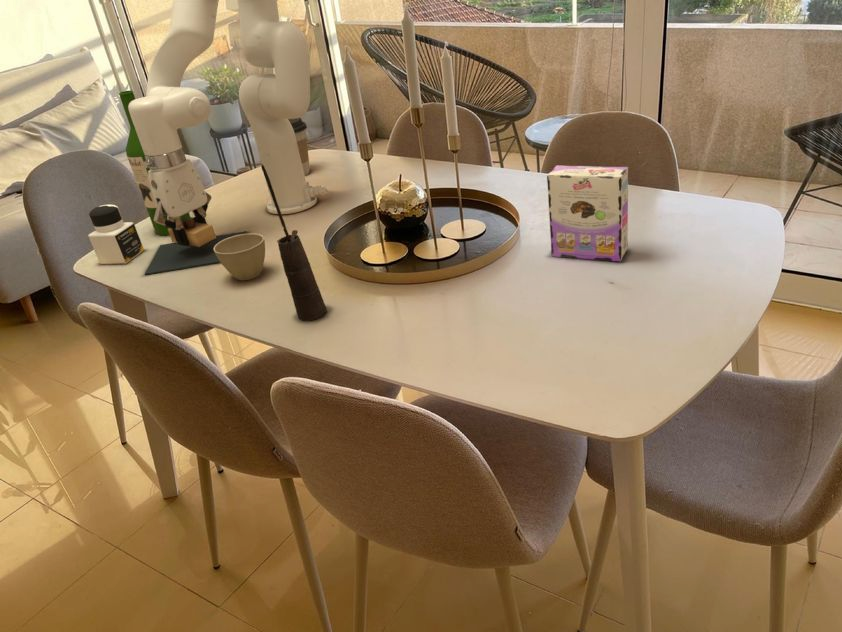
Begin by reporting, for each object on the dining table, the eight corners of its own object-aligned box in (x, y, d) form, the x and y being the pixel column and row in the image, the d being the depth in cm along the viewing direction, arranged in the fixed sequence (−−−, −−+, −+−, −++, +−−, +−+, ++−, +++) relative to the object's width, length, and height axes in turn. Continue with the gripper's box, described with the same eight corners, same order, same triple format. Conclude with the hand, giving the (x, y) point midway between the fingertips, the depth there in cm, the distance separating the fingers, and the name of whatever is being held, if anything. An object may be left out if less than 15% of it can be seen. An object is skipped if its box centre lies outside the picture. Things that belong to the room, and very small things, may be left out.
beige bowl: (282, 265, 145) (273, 233, 141) (255, 287, 137) (245, 254, 133) (242, 263, 148) (232, 232, 144) (213, 284, 140) (202, 252, 136)
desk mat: (247, 232, 163) (246, 230, 163) (239, 259, 150) (238, 258, 150) (160, 246, 162) (160, 244, 162) (145, 275, 148) (144, 273, 148)
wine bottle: (147, 234, 169) (95, 97, 152) (173, 220, 176) (125, 87, 159) (175, 236, 166) (125, 96, 149) (200, 222, 173) (155, 86, 156)
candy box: (628, 250, 133) (630, 165, 124) (620, 263, 128) (621, 176, 120) (559, 244, 138) (556, 163, 130) (550, 256, 134) (545, 173, 125)
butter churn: (310, 295, 131) (272, 148, 117) (350, 303, 127) (315, 151, 112) (277, 318, 125) (232, 165, 110) (317, 327, 120) (275, 169, 106)
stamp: (217, 239, 154) (209, 217, 151) (199, 248, 151) (191, 225, 148) (190, 234, 158) (182, 213, 156) (172, 243, 155) (164, 221, 152)
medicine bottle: (126, 264, 155) (105, 213, 149) (99, 264, 157) (77, 214, 150) (145, 250, 161) (125, 201, 154) (118, 250, 162) (98, 202, 156)
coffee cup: (271, 181, 195) (256, 127, 187) (286, 168, 205) (273, 116, 197) (308, 179, 193) (296, 125, 185) (322, 166, 202) (310, 113, 194)
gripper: (143, 174, 137) (174, 257, 147) (209, 147, 149) (234, 226, 158) (120, 171, 140) (152, 253, 150) (186, 145, 152) (212, 223, 162)
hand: (194, 238), depth 154 cm, fingers closed on stamp, 5 cm apart
